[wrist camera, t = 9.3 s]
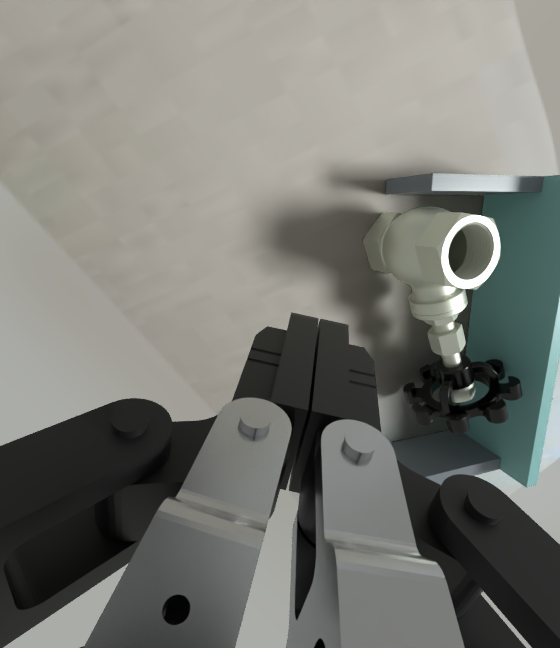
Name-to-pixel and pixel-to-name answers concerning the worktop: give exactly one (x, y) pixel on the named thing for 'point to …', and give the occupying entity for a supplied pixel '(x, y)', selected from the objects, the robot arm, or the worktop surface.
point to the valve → (444, 305)
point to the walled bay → (503, 327)
